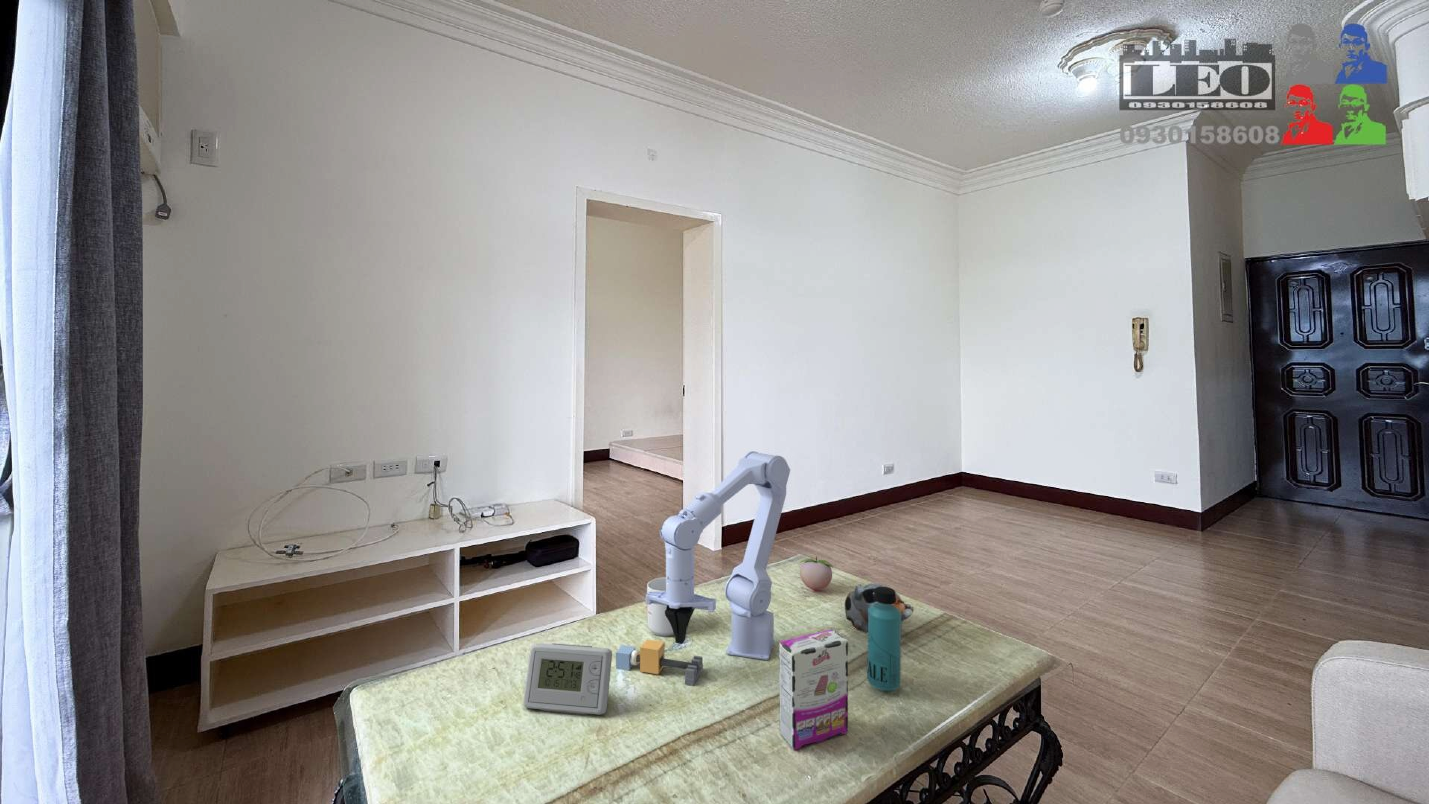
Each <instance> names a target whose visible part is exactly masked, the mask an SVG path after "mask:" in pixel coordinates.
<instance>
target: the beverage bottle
mask: <svg viewBox="0 0 1429 804" xmlns="http://www.w3.org/2000/svg"><path fill="white" fill-rule="evenodd" d="M895 592H896V590H894V589H893V588H892V587H889V586H887V587H877V588H875V591H874V600H875V601H876V602H878V603H875V604H873V605H872V606H871V607H870V608H869V609H868V622H867V623H868V629H867V632H866V634H867V636H866V637H867V646H866V647H867V649H866V652H867V658H866V663H867V670H866V677H867V681H868V683H869V684H870V686H872V687H874V688H876V689H878V690H882V691H894V690H897V689H898V688H899V687H900V684H901V675H902V674H901V673H902V668H901V667H902V659H901V658H902V650H901V640H902V639H901V638H902V637H901V633H902V631H901V630H902V624H901V616H902V615H901V612H900V611H899V610H898V609H897V608H896V607H895V606H894V605H892V604H894V603H895V602H896V594H895Z"/></svg>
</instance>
